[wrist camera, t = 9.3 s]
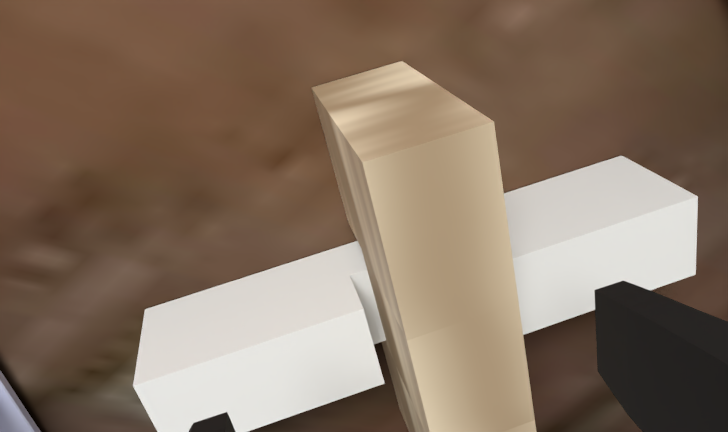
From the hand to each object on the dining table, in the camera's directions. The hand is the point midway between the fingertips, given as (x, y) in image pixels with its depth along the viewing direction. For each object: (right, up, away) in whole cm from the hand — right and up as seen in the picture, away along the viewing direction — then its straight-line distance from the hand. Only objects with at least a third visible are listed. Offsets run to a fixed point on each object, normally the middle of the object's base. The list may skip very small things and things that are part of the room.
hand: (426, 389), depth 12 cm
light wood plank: (0, +2, +11) cm, 11 cm away
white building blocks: (0, +1, +11) cm, 11 cm away
